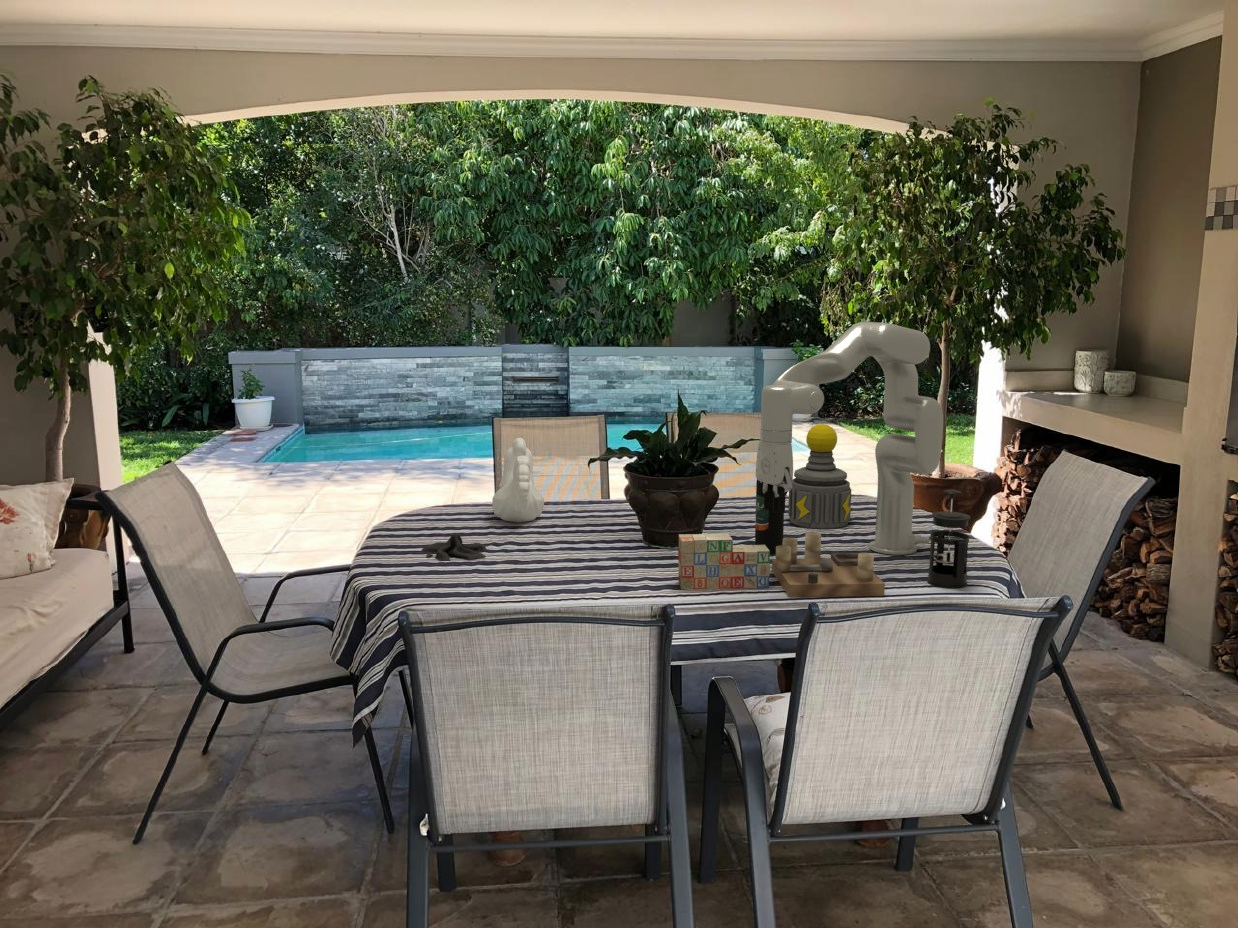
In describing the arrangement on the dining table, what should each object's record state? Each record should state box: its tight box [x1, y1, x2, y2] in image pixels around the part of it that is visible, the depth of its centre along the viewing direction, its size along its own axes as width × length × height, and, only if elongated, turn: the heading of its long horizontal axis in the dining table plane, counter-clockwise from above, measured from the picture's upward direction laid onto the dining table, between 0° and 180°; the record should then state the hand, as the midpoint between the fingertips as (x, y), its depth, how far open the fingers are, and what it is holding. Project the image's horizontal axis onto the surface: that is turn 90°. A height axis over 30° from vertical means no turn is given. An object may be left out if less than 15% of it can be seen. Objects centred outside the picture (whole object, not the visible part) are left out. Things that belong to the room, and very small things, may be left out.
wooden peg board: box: [771, 537, 886, 598], centre depth 257 cm, size 22×22×9 cm
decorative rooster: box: [491, 437, 545, 523], centre depth 317 cm, size 25×16×25 cm, turn 179°
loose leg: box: [804, 531, 822, 558], centre depth 274 cm, size 4×4×8 cm
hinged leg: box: [775, 545, 833, 572], centre depth 257 cm, size 14×4×6 cm, turn 92°
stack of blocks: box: [677, 532, 771, 590], centre depth 255 cm, size 21×6×12 cm, turn 93°
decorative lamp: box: [787, 423, 852, 530], centre depth 317 cm, size 19×19×30 cm
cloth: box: [420, 532, 488, 562], centre depth 283 cm, size 22×19×6 cm
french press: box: [926, 489, 971, 590], centre depth 255 cm, size 12×9×23 cm
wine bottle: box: [754, 478, 785, 555], centre depth 284 cm, size 8×8×30 cm
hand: (774, 510), depth 258 cm, fingers open, 3 cm apart
